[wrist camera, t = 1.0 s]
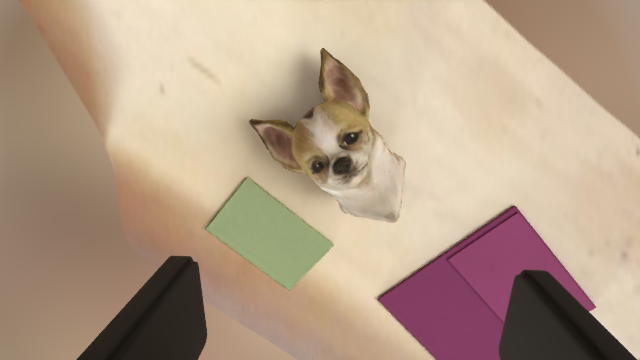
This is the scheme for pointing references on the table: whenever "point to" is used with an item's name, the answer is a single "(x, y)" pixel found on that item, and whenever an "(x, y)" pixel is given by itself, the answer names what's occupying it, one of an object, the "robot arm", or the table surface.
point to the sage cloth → (269, 234)
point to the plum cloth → (474, 289)
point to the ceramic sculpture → (340, 147)
